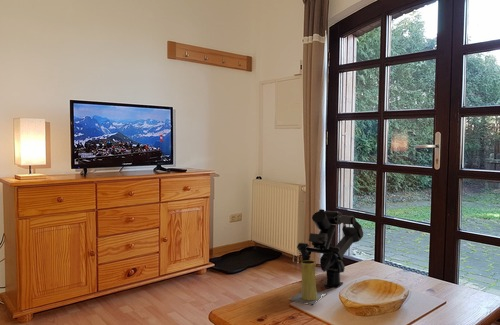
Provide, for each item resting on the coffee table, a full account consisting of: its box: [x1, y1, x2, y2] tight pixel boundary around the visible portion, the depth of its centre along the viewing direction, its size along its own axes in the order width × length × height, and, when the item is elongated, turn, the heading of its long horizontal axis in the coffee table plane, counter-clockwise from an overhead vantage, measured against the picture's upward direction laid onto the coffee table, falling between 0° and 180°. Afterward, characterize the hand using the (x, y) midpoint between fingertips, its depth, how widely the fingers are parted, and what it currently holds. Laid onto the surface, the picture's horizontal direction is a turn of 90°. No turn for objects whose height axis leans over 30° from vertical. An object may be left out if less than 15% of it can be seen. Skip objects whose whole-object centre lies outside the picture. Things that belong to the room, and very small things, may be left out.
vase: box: [300, 259, 318, 301], centre depth 155 cm, size 6×6×14 cm
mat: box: [289, 290, 326, 305], centre depth 158 cm, size 13×10×1 cm
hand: (313, 269), depth 158 cm, fingers open, 9 cm apart
